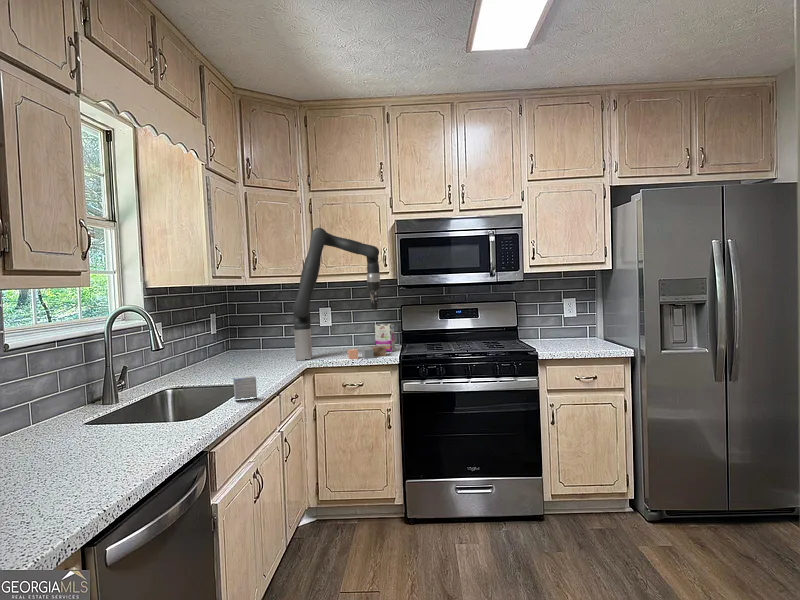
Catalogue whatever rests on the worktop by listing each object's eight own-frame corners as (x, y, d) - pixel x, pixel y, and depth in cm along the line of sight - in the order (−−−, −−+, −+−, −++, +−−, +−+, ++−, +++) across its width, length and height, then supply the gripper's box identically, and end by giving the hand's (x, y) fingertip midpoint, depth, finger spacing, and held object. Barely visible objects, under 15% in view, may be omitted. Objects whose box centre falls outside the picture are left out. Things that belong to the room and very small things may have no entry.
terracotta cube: (349, 359, 301) (348, 350, 301) (348, 358, 306) (348, 349, 306) (358, 359, 302) (357, 350, 302) (357, 357, 307) (356, 349, 307)
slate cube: (364, 359, 300) (364, 350, 300) (362, 358, 305) (362, 349, 305) (373, 358, 302) (373, 349, 302) (371, 357, 307) (370, 348, 306)
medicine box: (255, 397, 212) (254, 375, 212) (257, 399, 208) (256, 376, 207) (234, 399, 209) (233, 377, 208) (235, 402, 205) (234, 379, 204)
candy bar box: (395, 351, 328) (394, 323, 327) (391, 352, 323) (390, 324, 323) (379, 350, 333) (378, 323, 332) (375, 351, 329) (374, 324, 328)
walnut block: (373, 357, 308) (373, 348, 307) (372, 355, 314) (371, 346, 314) (385, 356, 309) (385, 347, 308) (384, 354, 316) (383, 346, 315)
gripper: (365, 281, 320) (366, 309, 321) (368, 281, 306) (369, 310, 307) (378, 281, 322) (379, 308, 322) (381, 280, 308) (382, 309, 308)
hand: (374, 309), depth 315 cm, fingers open, 8 cm apart
